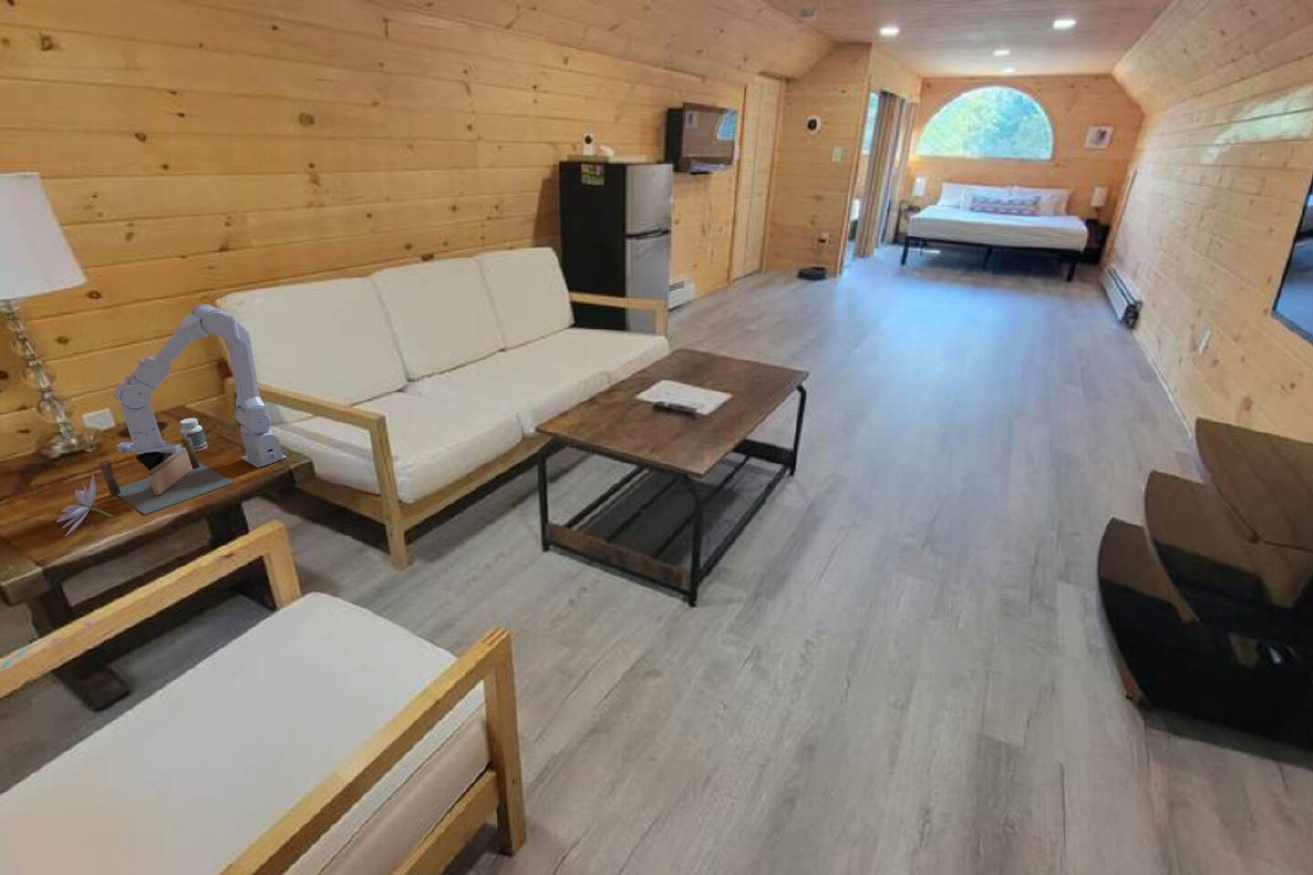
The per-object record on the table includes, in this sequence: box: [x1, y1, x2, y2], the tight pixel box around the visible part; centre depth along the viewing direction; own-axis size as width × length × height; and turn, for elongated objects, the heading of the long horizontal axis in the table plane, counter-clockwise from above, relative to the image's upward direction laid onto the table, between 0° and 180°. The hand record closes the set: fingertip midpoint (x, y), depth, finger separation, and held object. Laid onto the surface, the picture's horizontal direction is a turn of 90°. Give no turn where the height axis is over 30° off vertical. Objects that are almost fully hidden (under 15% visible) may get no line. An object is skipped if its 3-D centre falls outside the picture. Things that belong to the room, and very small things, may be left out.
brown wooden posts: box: [98, 437, 199, 497], centre depth 164 cm, size 2×20×9 cm, turn 147°
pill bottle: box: [179, 417, 208, 453], centre depth 182 cm, size 5×5×9 cm
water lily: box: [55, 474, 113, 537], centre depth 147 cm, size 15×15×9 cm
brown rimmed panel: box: [147, 446, 192, 495], centre depth 163 cm, size 14×1×7 cm, turn 5°
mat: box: [117, 461, 235, 516], centre depth 164 cm, size 20×20×1 cm
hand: (159, 477), depth 162 cm, fingers closed
